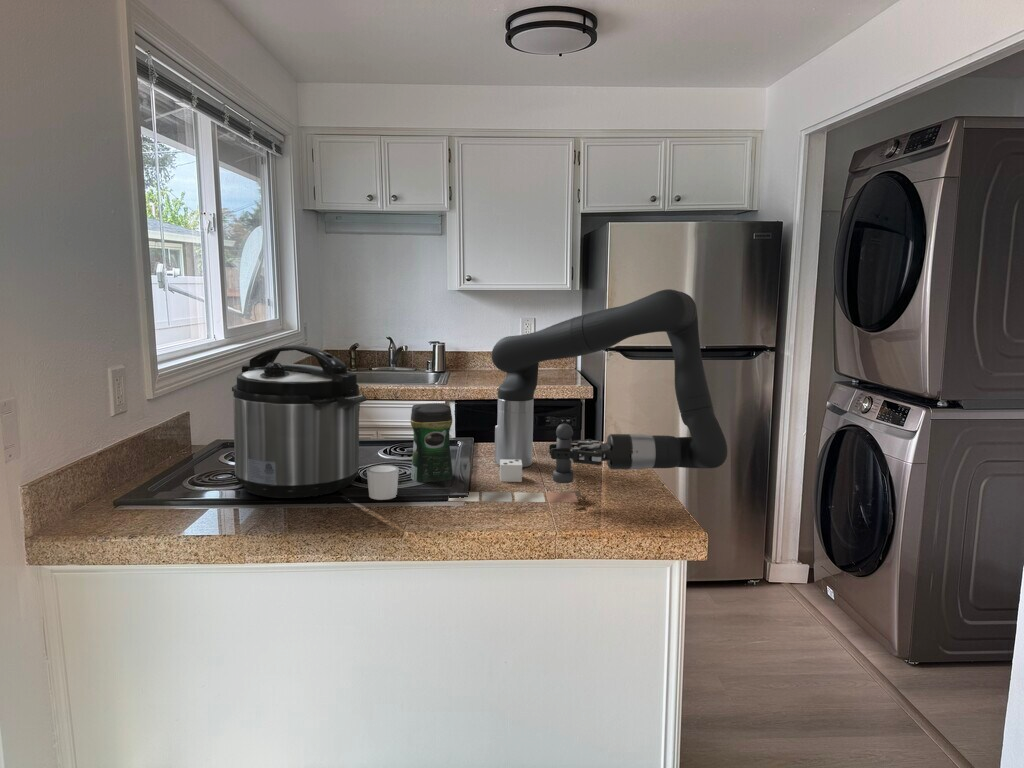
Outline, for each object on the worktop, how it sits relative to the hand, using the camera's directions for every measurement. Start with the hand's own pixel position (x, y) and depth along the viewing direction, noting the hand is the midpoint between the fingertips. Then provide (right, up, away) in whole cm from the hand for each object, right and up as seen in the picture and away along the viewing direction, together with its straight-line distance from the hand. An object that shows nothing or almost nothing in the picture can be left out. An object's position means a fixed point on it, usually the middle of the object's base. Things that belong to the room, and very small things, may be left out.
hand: (550, 451), depth 147 cm
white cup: (-36, -11, +1) cm, 37 cm away
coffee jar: (-27, -9, +15) cm, 32 cm away
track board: (-8, -11, +1) cm, 14 cm away
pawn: (+3, -6, +1) cm, 7 cm away
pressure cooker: (-57, -9, +12) cm, 58 cm away
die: (-9, -9, +15) cm, 20 cm away
